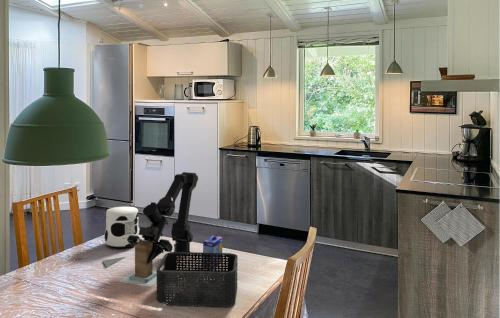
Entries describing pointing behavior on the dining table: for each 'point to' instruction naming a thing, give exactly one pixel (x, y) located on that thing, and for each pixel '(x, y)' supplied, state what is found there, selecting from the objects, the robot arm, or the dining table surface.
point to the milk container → (121, 226)
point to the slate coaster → (112, 261)
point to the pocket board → (140, 279)
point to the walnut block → (143, 259)
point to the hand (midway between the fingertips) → (141, 262)
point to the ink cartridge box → (213, 246)
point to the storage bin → (197, 279)
